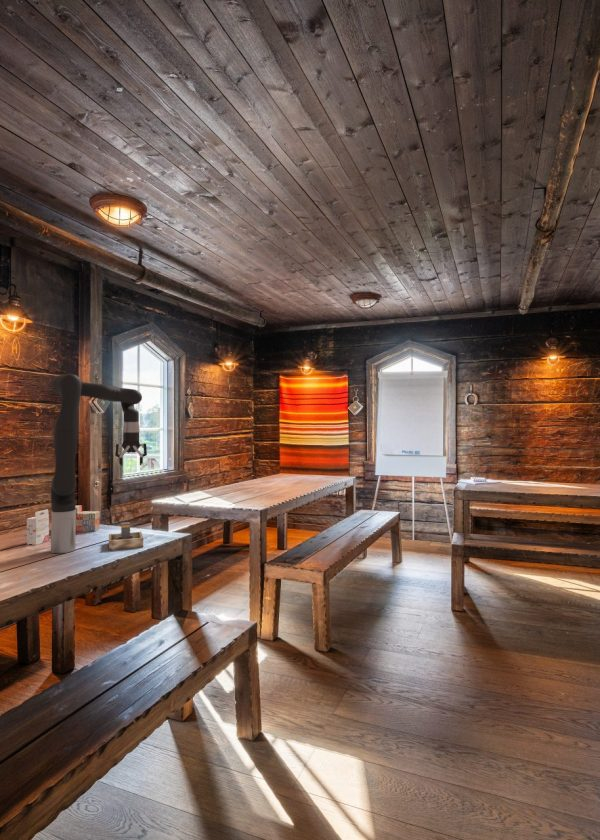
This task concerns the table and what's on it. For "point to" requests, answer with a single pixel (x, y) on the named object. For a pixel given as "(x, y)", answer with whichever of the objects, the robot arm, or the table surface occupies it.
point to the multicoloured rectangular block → (87, 520)
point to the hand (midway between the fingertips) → (131, 465)
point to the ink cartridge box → (38, 528)
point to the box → (125, 541)
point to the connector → (125, 530)
